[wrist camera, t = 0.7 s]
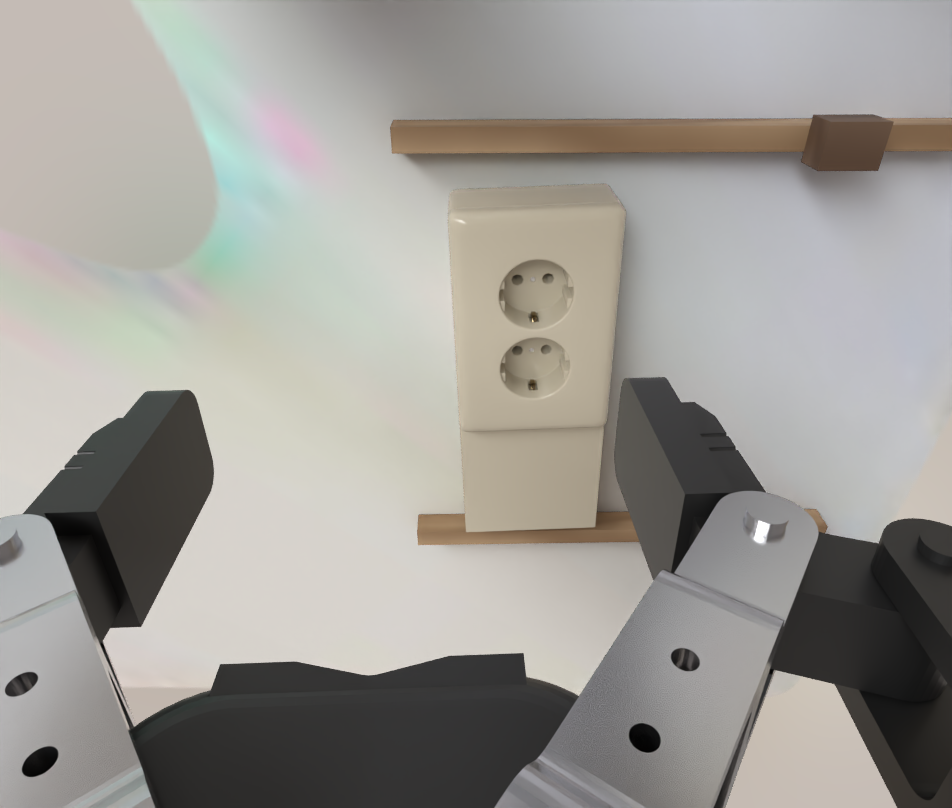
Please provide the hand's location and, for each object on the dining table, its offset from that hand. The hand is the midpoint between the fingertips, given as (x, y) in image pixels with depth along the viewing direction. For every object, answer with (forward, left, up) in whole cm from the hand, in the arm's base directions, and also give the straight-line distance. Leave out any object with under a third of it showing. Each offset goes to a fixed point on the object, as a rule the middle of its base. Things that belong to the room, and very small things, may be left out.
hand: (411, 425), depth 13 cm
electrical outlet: (+10, +4, -20) cm, 22 cm away
